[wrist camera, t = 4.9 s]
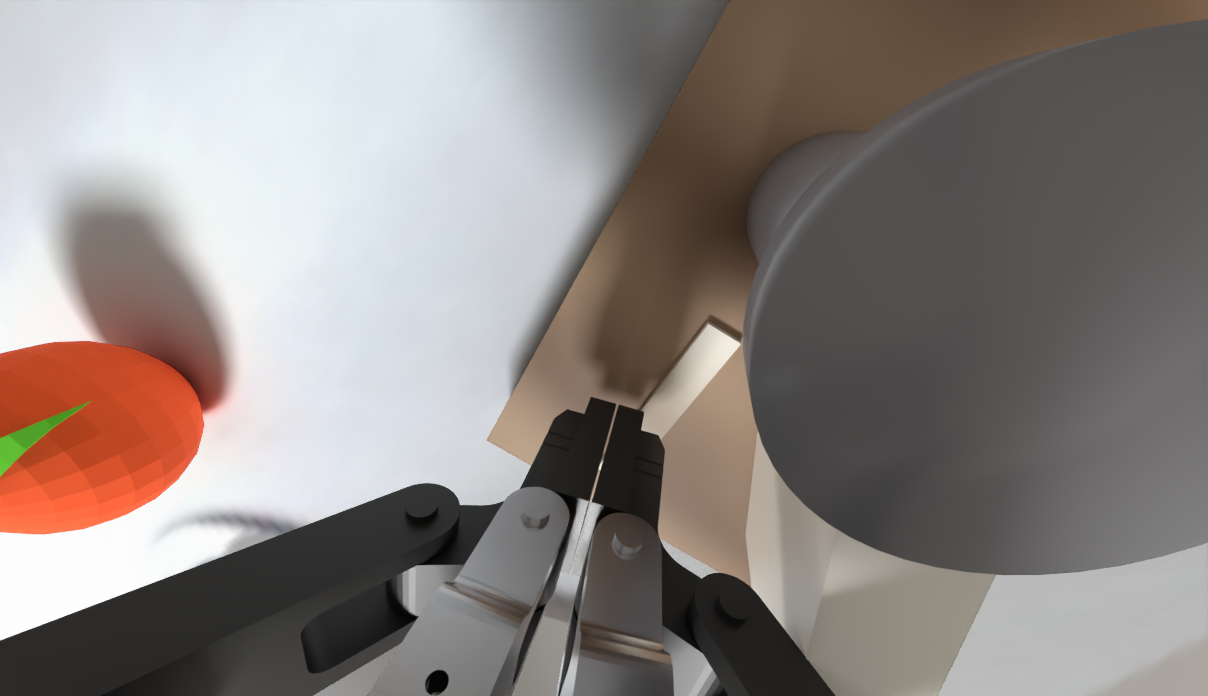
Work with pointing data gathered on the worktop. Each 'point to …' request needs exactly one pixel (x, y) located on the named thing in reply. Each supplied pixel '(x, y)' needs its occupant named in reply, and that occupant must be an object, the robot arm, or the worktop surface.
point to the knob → (979, 350)
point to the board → (719, 233)
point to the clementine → (89, 434)
